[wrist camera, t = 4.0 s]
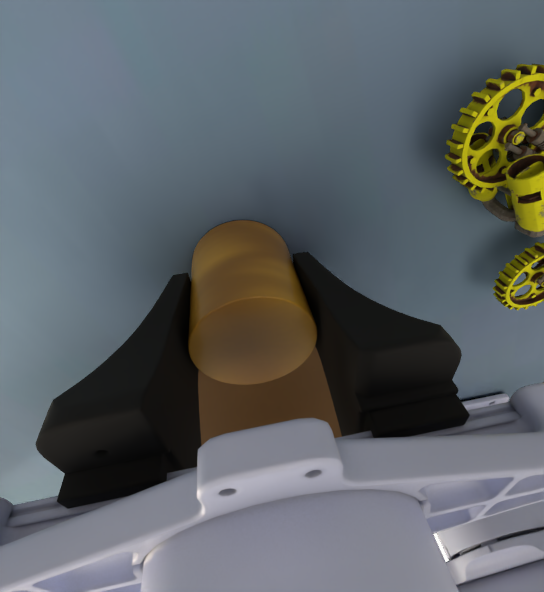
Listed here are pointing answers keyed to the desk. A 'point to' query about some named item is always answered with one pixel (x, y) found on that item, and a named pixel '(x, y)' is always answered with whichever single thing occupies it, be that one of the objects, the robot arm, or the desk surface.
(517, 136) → the toy motorcycle
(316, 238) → the desk surface
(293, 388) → the toy box
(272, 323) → the cylinder
